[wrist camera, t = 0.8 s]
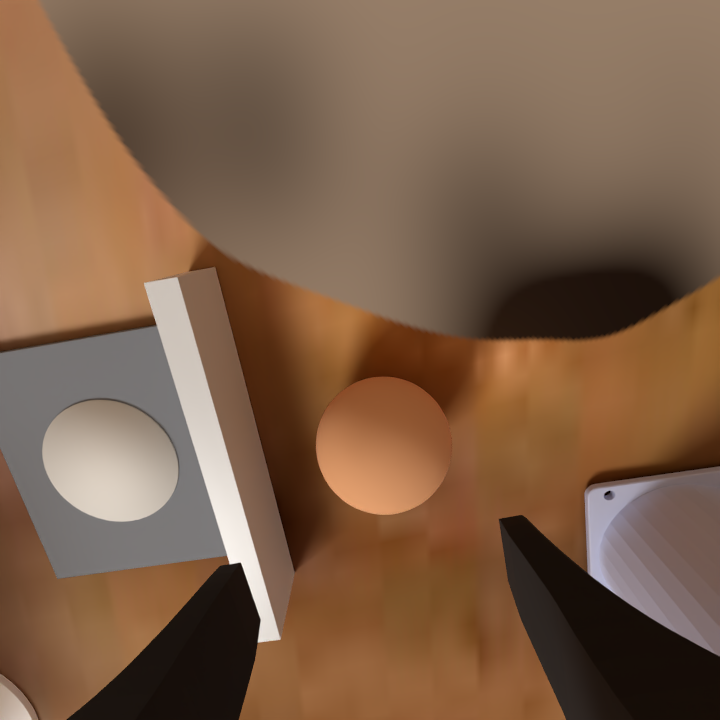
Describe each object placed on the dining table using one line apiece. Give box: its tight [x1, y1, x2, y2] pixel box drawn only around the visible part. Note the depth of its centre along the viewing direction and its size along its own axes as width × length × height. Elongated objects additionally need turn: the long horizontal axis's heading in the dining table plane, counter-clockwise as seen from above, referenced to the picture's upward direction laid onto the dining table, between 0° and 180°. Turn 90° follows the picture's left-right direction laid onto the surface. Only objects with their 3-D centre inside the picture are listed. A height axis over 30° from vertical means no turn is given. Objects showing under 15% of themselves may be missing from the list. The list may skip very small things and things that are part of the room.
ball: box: [316, 377, 452, 515], centre depth 19 cm, size 6×6×6 cm
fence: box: [144, 267, 295, 642], centre depth 20 cm, size 1×16×4 cm, turn 10°
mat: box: [0, 325, 227, 579], centre depth 22 cm, size 10×12×1 cm
